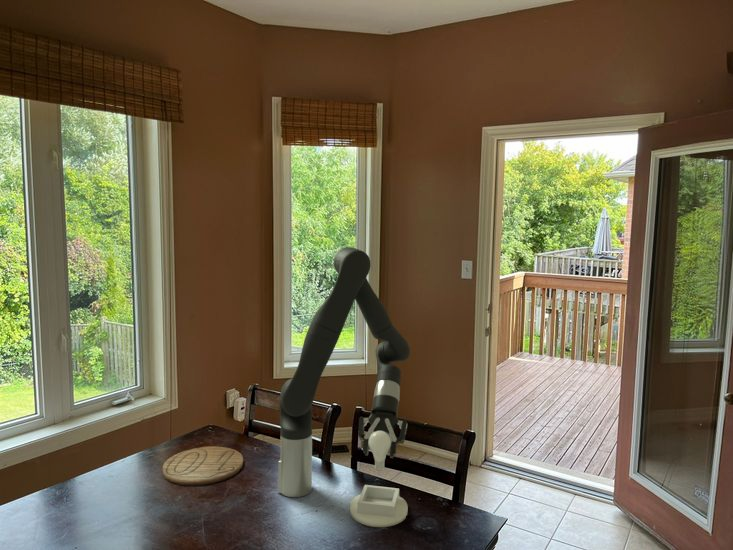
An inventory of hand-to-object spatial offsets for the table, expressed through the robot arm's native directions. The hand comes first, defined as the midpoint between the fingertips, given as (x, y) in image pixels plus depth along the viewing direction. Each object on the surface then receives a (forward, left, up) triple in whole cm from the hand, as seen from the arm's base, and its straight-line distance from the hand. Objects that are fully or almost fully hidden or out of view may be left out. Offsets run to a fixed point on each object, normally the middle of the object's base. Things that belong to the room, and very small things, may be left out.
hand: (378, 455), depth 142 cm
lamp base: (0, +2, -17) cm, 17 cm away
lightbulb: (0, +2, -5) cm, 5 cm away
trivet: (-60, +16, -17) cm, 64 cm away
